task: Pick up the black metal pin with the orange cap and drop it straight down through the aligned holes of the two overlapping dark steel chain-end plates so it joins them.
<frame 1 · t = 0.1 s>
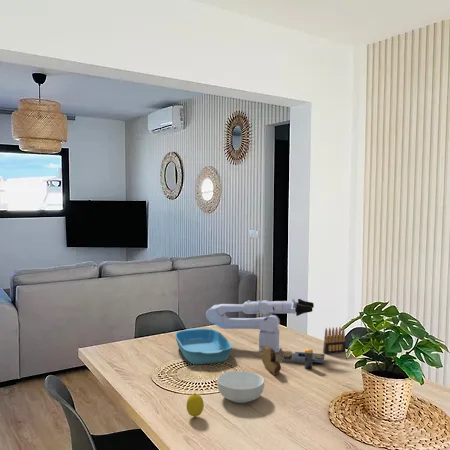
hand: (312, 307, 208), 22 cm above the table, tool horizontal, fingers open, 7 cm apart
cereal bowl: (240, 399, 160), on the table
wooden carving: (270, 371, 187), on the table
pin: (308, 368, 190), on the table
lemon: (195, 418, 146), on the table
casserole dish: (202, 354, 208), on the table
chain end right: (303, 360, 199), on the table
ammunition clip: (334, 352, 210), on the table
chain end left: (303, 360, 199), on the table
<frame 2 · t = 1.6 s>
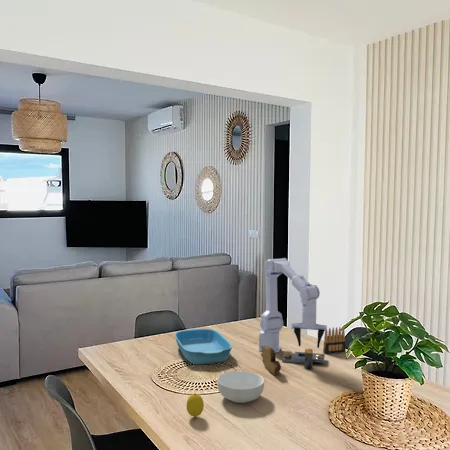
hand: (308, 346, 189), 9 cm above the table, tool pointing down, fingers open, 7 cm apart
nothing on the table moved.
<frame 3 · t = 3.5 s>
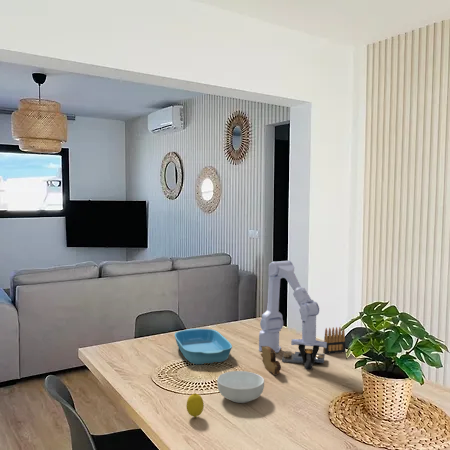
hand: (308, 362, 190), 2 cm above the table, tool pointing down, fingers closed on pin, 3 cm apart
pin: (308, 368, 190), on the table, touching gripper
everything else where it was.
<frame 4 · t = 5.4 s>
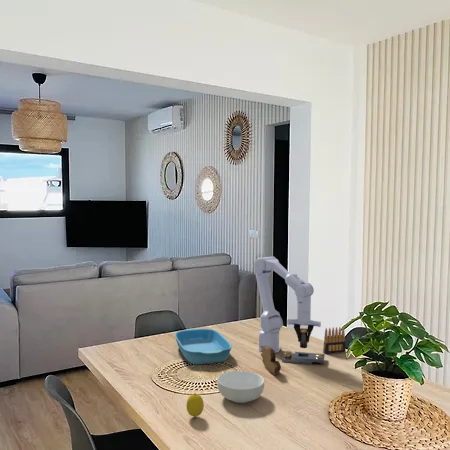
hand: (303, 341, 199), 9 cm above the table, tool pointing down, fingers closed on pin, 3 cm apart
pin: (303, 347, 199), point 6 cm above the table, touching gripper
everything else where it was.
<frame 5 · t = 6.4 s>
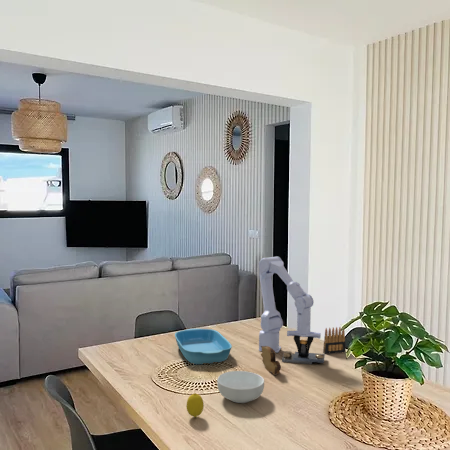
hand: (303, 352, 199), 3 cm above the table, tool pointing down, fingers closed on pin, 3 cm apart
pin: (303, 358, 199), point 1 cm above the table, touching gripper
everything else where it was.
when the fingers open (3 cm above the table, at t = 7.4 s): pin stays where it is, on the table.
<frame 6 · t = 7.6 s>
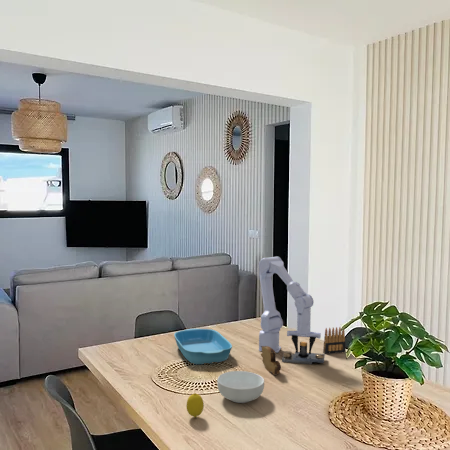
hand: (303, 352, 199), 3 cm above the table, tool pointing down, fingers open, 5 cm apart
pin: (303, 360, 199), on the table
everything else where it was.
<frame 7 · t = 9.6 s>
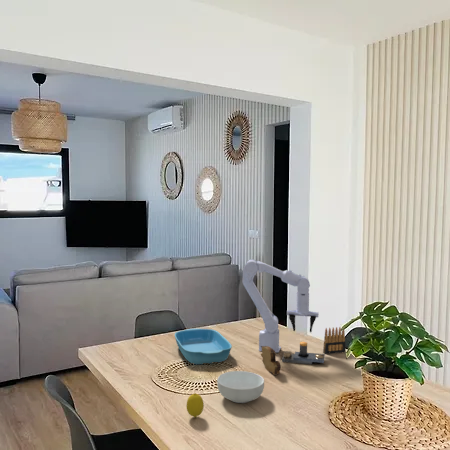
hand: (302, 331, 212), 9 cm above the table, tool pointing down, fingers open, 7 cm apart
nothing on the table moved.
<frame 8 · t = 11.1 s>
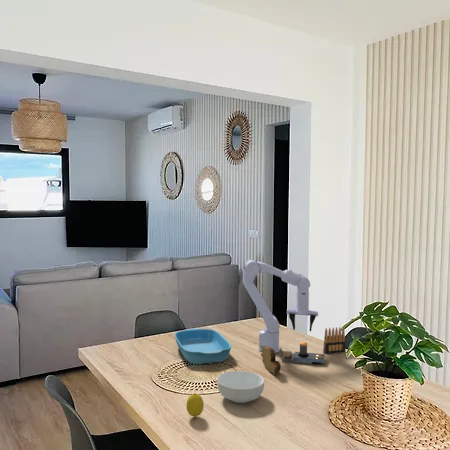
hand: (302, 330, 214), 9 cm above the table, tool pointing down, fingers open, 7 cm apart
nothing on the table moved.
at the end: pin 0.0 cm from the chain end left (horizontally); pin on the table; pin tilted 0° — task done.
